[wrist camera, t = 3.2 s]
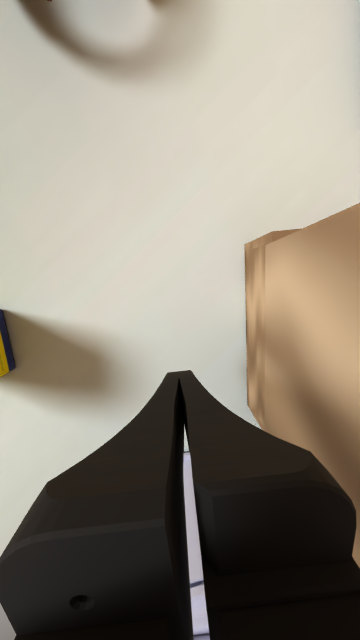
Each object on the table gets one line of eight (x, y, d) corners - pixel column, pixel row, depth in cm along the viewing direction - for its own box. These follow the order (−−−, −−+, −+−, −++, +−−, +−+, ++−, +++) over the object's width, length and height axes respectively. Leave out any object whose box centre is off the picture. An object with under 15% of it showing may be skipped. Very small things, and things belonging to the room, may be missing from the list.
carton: (340, 394, 20) (388, 428, 15) (247, 404, 19) (269, 441, 15) (358, 233, 16) (428, 216, 12) (244, 244, 16) (271, 231, 11)
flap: (378, 676, 6) (364, 674, 6) (269, 436, 15) (264, 436, 15) (522, 139, 3) (489, 145, 3) (272, 244, 11) (265, 245, 11)
